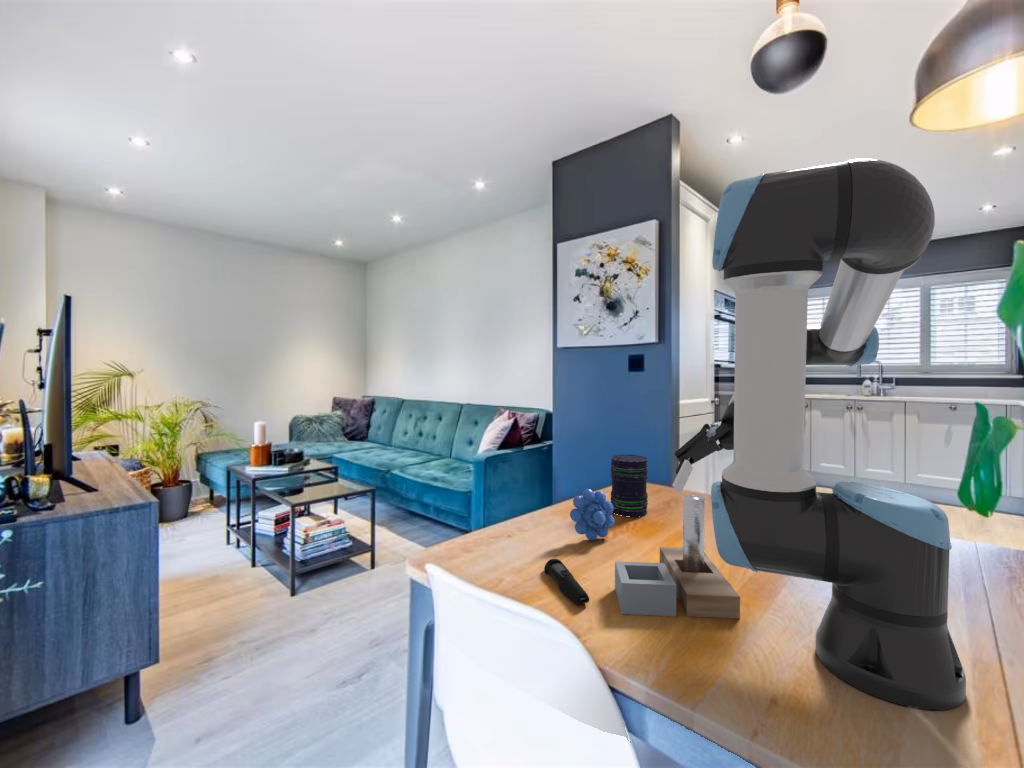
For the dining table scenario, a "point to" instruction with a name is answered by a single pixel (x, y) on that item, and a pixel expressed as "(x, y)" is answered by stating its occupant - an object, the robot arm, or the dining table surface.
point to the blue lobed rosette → (592, 514)
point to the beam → (701, 587)
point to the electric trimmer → (566, 581)
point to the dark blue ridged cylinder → (629, 485)
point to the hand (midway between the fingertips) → (708, 496)
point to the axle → (693, 533)
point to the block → (645, 589)
